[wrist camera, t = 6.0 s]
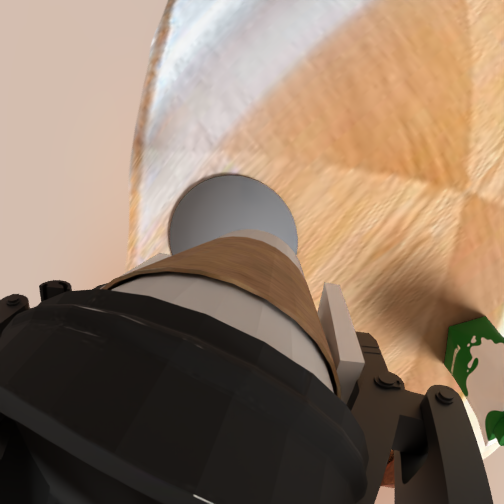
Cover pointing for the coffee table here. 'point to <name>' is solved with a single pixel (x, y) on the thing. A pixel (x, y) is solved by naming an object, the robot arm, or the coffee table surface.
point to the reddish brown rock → (389, 476)
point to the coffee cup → (186, 385)
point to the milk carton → (479, 372)
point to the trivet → (230, 213)
